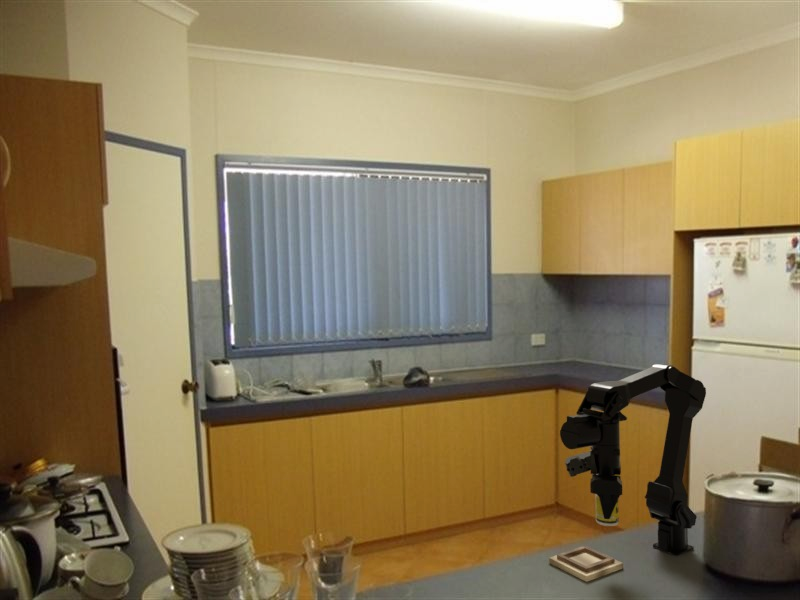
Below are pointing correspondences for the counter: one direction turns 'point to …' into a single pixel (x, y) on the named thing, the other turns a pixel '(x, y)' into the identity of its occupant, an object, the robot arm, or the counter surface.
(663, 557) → the counter surface
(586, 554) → the coaster board
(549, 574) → the counter surface
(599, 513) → the supplement bottle
